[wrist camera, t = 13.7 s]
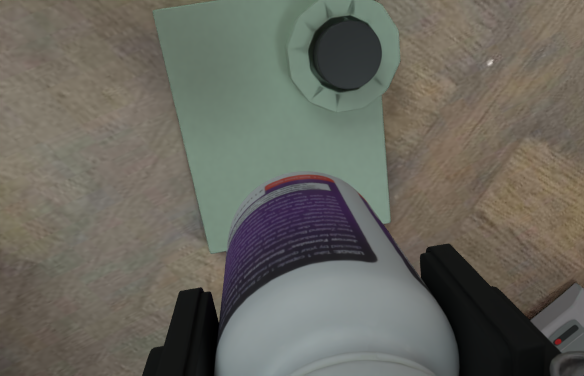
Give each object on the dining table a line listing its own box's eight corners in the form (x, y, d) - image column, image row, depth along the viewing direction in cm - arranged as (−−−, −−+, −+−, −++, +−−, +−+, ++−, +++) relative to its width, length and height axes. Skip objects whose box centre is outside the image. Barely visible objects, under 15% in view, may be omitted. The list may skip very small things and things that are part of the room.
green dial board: (156, 11, 26) (144, 8, 23) (380, -23, 26) (395, -31, 23) (211, 246, 31) (207, 267, 28) (396, 214, 32) (410, 231, 29)
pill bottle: (205, 270, 16) (139, 590, 7) (268, 142, 14) (294, 325, 5) (332, 318, 17) (423, 645, 8) (401, 204, 16) (612, 441, 6)
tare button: (308, 26, 24) (313, 25, 23) (370, 17, 24) (379, 15, 23) (316, 90, 25) (321, 94, 24) (375, 81, 26) (384, 84, 24)
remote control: (633, 311, 37) (665, 334, 34) (491, 421, 39) (510, 451, 37) (593, 266, 35) (623, 286, 32) (447, 385, 37) (463, 413, 35)
